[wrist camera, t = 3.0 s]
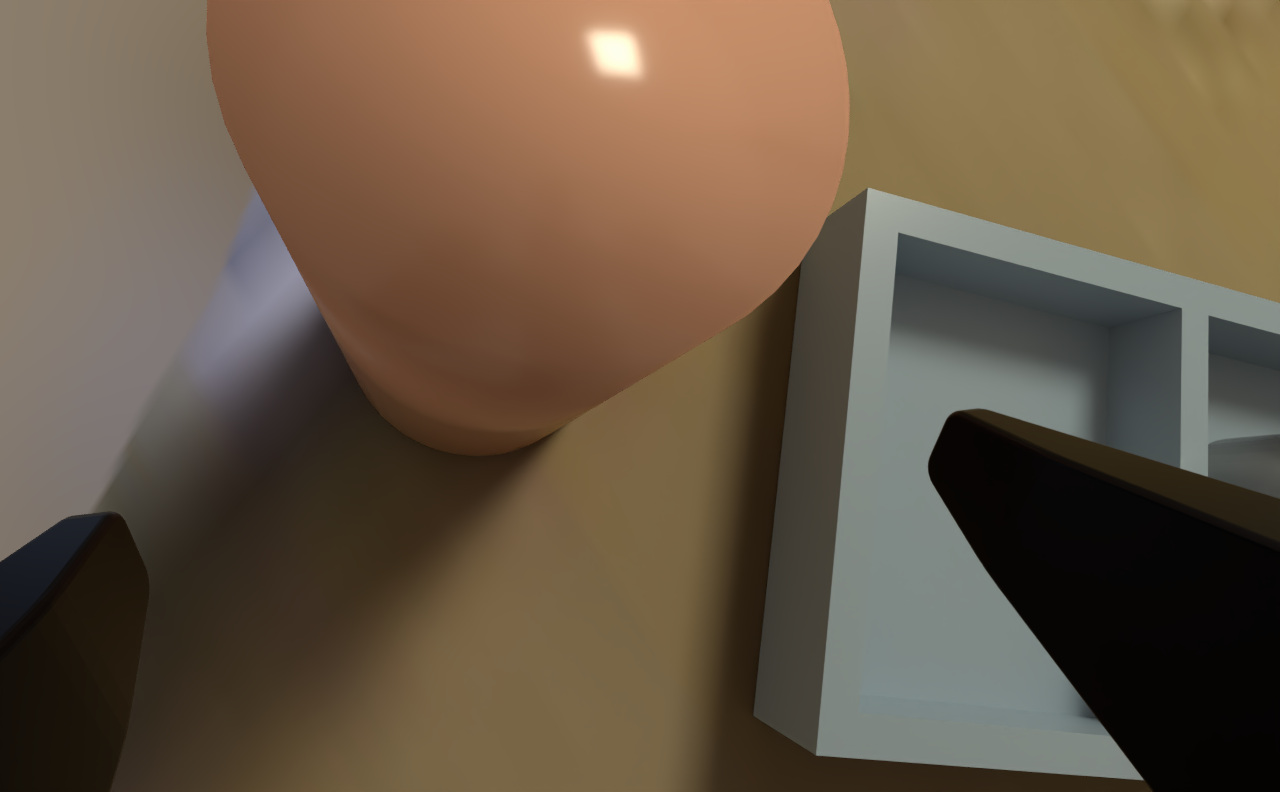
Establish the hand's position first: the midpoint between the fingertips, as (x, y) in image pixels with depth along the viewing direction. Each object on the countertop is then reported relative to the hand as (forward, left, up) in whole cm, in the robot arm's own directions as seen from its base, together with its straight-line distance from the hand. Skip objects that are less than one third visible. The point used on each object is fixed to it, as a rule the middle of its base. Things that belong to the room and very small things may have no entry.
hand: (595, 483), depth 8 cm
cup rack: (+2, -19, -12) cm, 22 cm away
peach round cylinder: (+4, +1, -12) cm, 13 cm away
